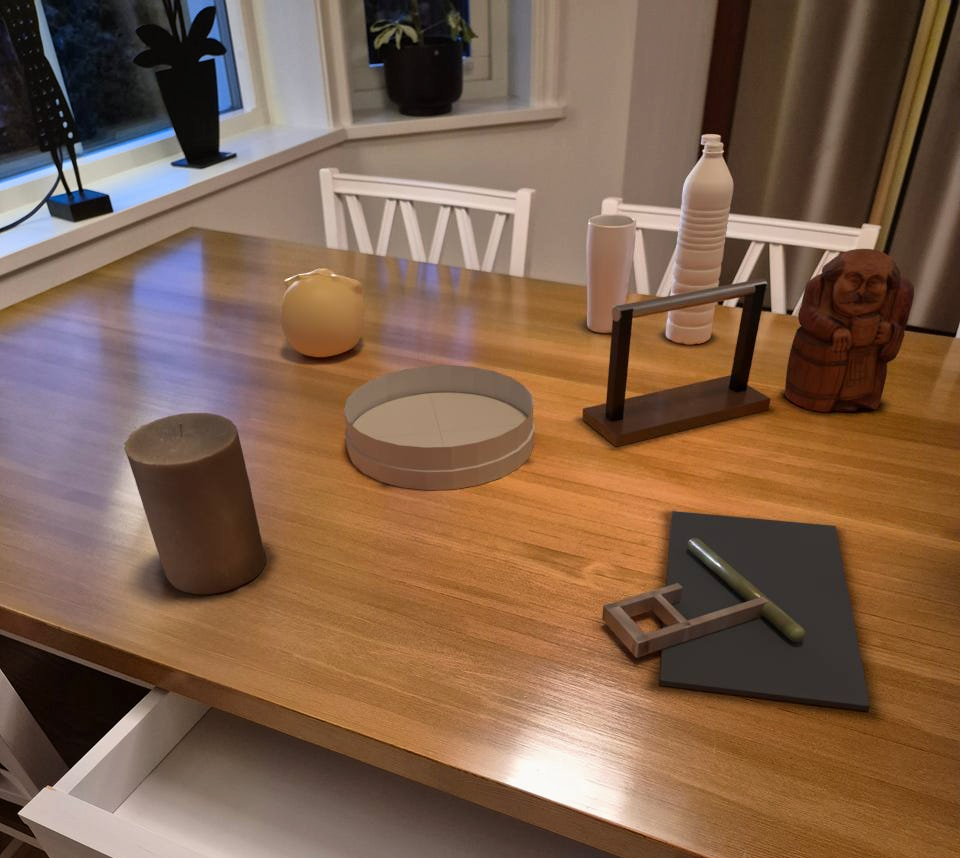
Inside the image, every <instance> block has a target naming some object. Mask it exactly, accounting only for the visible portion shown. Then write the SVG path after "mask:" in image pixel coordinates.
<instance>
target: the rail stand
mask: <svg viewBox="0 0 960 858" xmlns="http://www.w3.org/2000/svg"><path fill="white" fill-rule="evenodd" d="M767 290H768V280H766V279H765V278H758V279H752V280H747V281H742V282H736V283H732V284H731V283H730V284H726V285H721V286H718V287H714V288H709V289H704V290H698V291H693V292H688V293H682V294H677V295H672V296H670V295H667V296H661V297H656V298H651V299H645V300H640V301H634V302H629V303H625V304H624V305H618V306H614V307H613V308H612V318H613V322H612V333H611V336H610V347H609V348H610V350H609V362H608V374H607V385H606V399H605V403H602V404H597V405H592V406H588V407H587V406H586V407H584V408H582V416H581V417H582V421H583V422H584V423H585V424H587V425H588V426H590V427H591V428H592V429H593V430H594V431H596V432H597V433H598V434H599V435H601V436H602V437H603V438H604V439H606V440H607V442H609V443H611V444H612V446H614V447H615V448H616V447H617V448H618V447H621V446H625V445H630V444H634V443H638V442H642V441H646V440H650V439H654V438H659V437H664V436H667V435H671V434H674V433H679V432H684V431H688V430H692V429H695V428H700V427H704V426H707V425H712V424H715V423H720V422H724V421H728V420H732V419H737V418H740V417H745V416H748V415H752V414H757V413H760V412H764V411H765V412H766V411H768V410H770V404H771V397H769V396H768V395H766V394H764V393H762V392H761V391H758V390H757V389H755V388H754V387H752V386H750V385H749V380H750V374H751V369H752V363H753V358H754V352H755V347H756V343H757V337H758V331H759V327H760V322H761V315H762V311H763V306H764V300H765V294H766V292H767ZM739 298H744V300H743V305H742V310H741V314H740V315H741V316H740V321H739V327H738V333H737V338H736V344H735V350H734V355H733V361H732V367H731V372H730V374H729V375H726V376H721V377H715V378H711V379H707V380H703V381H698V382H694V383H689V384H686V385H685V384H684V385H681V386H676V387H671V388H667V389H662V390H658V391H654V392H649V393H645V394H642V395H641V394H640V395H635V396H632V397H628V398H627V397H626V392H627V391H626V390H627V381H628V371H629V370H628V369H629V361H630V360H629V359H630V349H631V339H632V327H633V319H637V318H642V317H647V316H652V315H657V314H663V313H668V311H673V310H679V309H684V308H689V307H694V306H699V305H704V304H710V303H715V302H716V303H719V302H726V301H729V300H734V299H739ZM716 303H715V304H716Z"/></svg>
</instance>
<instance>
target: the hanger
mask: <svg viewBox="0 0 960 858" xmlns="http://www.w3.org/2000/svg"><path fill="white" fill-rule="evenodd" d="M687 547H688V549H689V551H690V552H692V553H693V554H694V555H695V556H696V557H697V558H698V559H699V560H701V561H702V562H703V563H704V564H705V565H706V566H707V567H708V568H710V569H711V570H712V571H713V572H714V573H715V574H716V575H718V576H719V577H720V578H721V579H722V580H723V581H724V582H725V583H727V584H728V585H729V586H730V587H731V588H732V589H733V590H734V591H736V592H737V593H738V594H739V595H740V596H741V597H742V598H743V599H745V600H746V601H747V602H744V603H741V604H738V605H735V606H732V607H729V608H725V609H722V610H719V611H716V612H713V613H710V614H707V615H703V616H700V617H697V618H694V619H691V620H688V621H687V620H686V619H685V618H684V617H683V616H682V615H681V614H680V613H679V612H678V611H677V610H676V609H675V608H674V607H673V606H672V605H671V604H674V603H677V602H680V601H681V595H682V589H683V588H682V586H681V585H680V584H678V583H676V584H673V585H670V586H663V587H660V588H657V589H652V590H649V591H646V592H643V593H640V594H637V595H633V596H630V597H627V598H624V599H620V600H617V601H612V602H609V603H606V604H603V605H602V615H601V616H602V617H601V620H602V621H603V622H604V624H606V626H607V627H608V628H609V629H610V630H611V631H612V633H614V635H615V636H616V638H617V639H619V640H620V641H621V642H622V644H623V645H624V646H625V647H626V648H627V649H628V650H629V652H630V653H631V654H632V655H633V656H634V657H635V658H640V657H643V656H646V655H648V654H651V653H655V652H658V651H660V650H661V651H662V649H664V648H667V647H670V646H673V645H676V644H679V643H682V642H686V641H689V640H691V639H695V638H698V637H701V636H704V635H707V634H710V633H713V632H716V631H719V630H722V629H725V628H728V627H731V626H734V625H737V624H741V623H744V622H747V621H750V620H753V619H756V618H759V617H762V616H764V617H765V618H766V619H767V620H768V621H769V622H771V623H772V624H773V625H774V626H775V627H776V628H777V629H778V630H780V631H781V632H782V633H783V634H784V635H785V636H786V637H788V638H789V639H790V640H791V641H793V642H800V641H802V640H803V639H804V638H805V630H804V629H803V628H802V627H801V626H800V625H799V624H798V623H796V622H795V621H794V620H793V619H792V618H791V617H789V616H788V615H787V614H786V613H785V612H784V611H782V610H781V609H780V608H779V607H778V606H777V605H775V604H774V603H773V602H772V601H771V600H770V599H768V598H767V597H766V596H765V595H764V594H763V593H761V592H760V591H759V590H758V589H757V588H756V587H754V586H753V585H752V584H751V583H750V582H749V581H748V580H746V579H745V578H744V577H743V576H742V575H741V574H739V573H738V572H737V571H736V570H735V569H734V568H732V567H731V566H730V565H729V564H728V563H727V562H725V561H724V560H723V559H722V558H721V557H720V556H718V555H717V554H716V553H715V552H714V551H713V550H711V549H710V548H709V547H708V546H707V545H706V544H704V543H703V542H702V541H701V540H700V539H698V538H692V539H691V540H689V542H688V544H687ZM648 612H653V613H654V614H655V615H656V616H657V617H658V619H659V620H661V622H663V624H664V623H665V624H666V625H667V626H668V627H666V628H663V627H662V628H660V629H657V630H653V631H650V632H647V633H646V632H644V631H643V630H642V629H641V627H640V626H638V624H637V623H636V622H635V620H633V619H632V618H631V617H636V616H638V615H642V614H645V613H648Z"/></svg>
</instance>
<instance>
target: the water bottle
mask: <svg viewBox="0 0 960 858" xmlns="http://www.w3.org/2000/svg"><path fill="white" fill-rule="evenodd" d="M721 138H722V136H721V135H719V134H714V133H706V134H702V135H701V139H700V145H702V146H704V147H703V149H702V150H701V151H702V155H701V157H700V158H699V160H698V161H697V162H696V164H695V165H694V166H693V168H692V170H690V172H689V173H688V175H687V177H686V178H685V181H684V183H683V186H682V194H681V204H680V212H679V221H678V223H679V224H678V231H677V237H676V246H675V252H674V263H673V266H672V267H673V269H672V279H671V286H670V293H669V296H672V295H677V294H682V293H688V292H693V291H698V290H704V289H709V288H714V287H719V285H720V280H719V279H720V277H721V272H722V262H723V260H724V251H725V243H726V237H727V230H728V224H729V217H730V211H731V204H732V199H733V195H734V179H733V177H732V174H731V172H730V170H729V168H728V165H727V163H726V161H725V158H724V156H723V153H724V152H725V150H724V143H723V142H721V140H722V139H721ZM716 304H717V302H715V303H710V304H704V305H699V306H694V307H689V308H684V309H679V310H673V311H668V312H667V318H666V319H667V320H666V326H665V337H666V338H667V339H668V340H669V341H672V342H674V343H677V344H684V345H695V344H697V345H699V344H704V343H706V342H708V341H709V340H710V339H711V337H712V330H713V324H714V322H713V320H714V318H715V310H716V306H715V305H716Z"/></svg>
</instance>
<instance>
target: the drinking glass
mask: <svg viewBox="0 0 960 858" xmlns="http://www.w3.org/2000/svg"><path fill="white" fill-rule="evenodd" d="M586 231H587V232H586V246H585V263H586V266H585V267H586V306H587V309H586V310H587V312H586V313H587V314H586V326H587V328H588V329H589V330H590V331H592V332H595V333H598V334H612V322H613V318H612V308H613V307H614V306H618V305H624V304H627V303H626V302H627V297H628V290H629V285H630V278H631V273H632V267H633V260H634V256H635V255H634V254H635V248H636V236H637V235H636V234H637V220H636V219H635V218H634V217H632V216H630V215H626V214H625V215H624V214H619V213H618V214H616V213H607V214H598V215H594V216H591V217H590V218H589V219H588V221H587V230H586Z"/></svg>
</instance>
